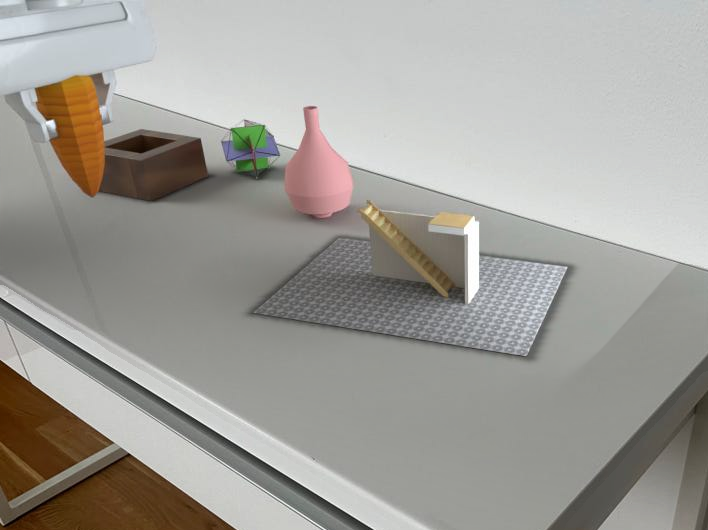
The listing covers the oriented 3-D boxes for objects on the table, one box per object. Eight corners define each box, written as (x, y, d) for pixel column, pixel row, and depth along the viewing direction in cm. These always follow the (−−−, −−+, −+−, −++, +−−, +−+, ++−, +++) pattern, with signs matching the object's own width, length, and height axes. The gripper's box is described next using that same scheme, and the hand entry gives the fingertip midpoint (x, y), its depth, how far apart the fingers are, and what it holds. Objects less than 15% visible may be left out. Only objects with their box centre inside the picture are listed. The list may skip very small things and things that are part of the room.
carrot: (51, 202, 70) (-1, 27, 62) (90, 185, 74) (46, 19, 66) (95, 209, 68) (47, 32, 60) (132, 191, 72) (92, 23, 64)
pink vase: (358, 224, 84) (348, 115, 78) (289, 229, 83) (273, 119, 76) (353, 200, 90) (343, 97, 84) (288, 204, 89) (274, 100, 83)
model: (468, 303, 68) (468, 224, 64) (360, 288, 71) (353, 210, 67) (478, 288, 71) (478, 211, 67) (374, 274, 73) (368, 198, 69)
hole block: (90, 189, 93) (78, 149, 91) (150, 166, 101) (141, 128, 98) (151, 201, 90) (141, 160, 87) (208, 176, 98) (201, 137, 95)
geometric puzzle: (285, 165, 95) (272, 104, 95) (229, 171, 92) (215, 109, 93) (282, 184, 101) (269, 127, 102) (229, 190, 99) (217, 132, 100)
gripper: (101, -51, 69) (135, 102, 77) (-127, -35, 54) (-57, 157, 61) (154, -48, 67) (183, 110, 75) (-68, -29, 51) (-2, 168, 59)
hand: (74, 131), depth 68 cm, fingers closed on carrot, 5 cm apart
